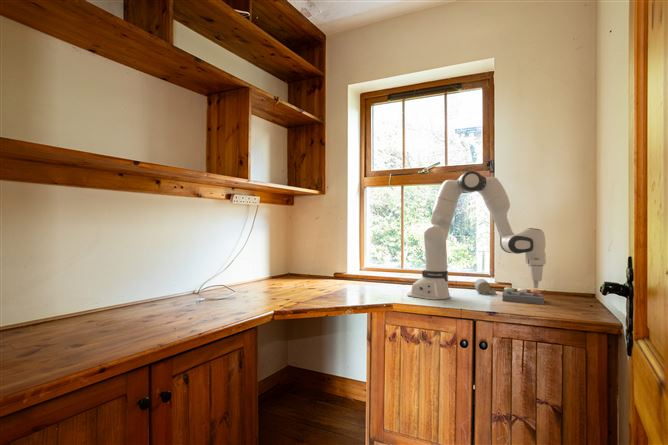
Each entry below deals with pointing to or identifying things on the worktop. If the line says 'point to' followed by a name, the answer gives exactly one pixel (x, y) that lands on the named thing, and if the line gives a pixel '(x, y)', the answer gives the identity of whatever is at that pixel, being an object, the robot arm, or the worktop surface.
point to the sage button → (509, 290)
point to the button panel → (523, 298)
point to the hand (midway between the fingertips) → (535, 287)
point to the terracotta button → (535, 292)
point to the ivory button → (521, 291)
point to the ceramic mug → (483, 287)
